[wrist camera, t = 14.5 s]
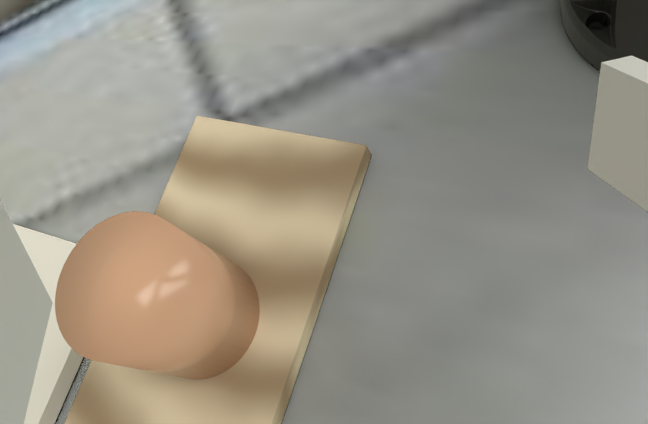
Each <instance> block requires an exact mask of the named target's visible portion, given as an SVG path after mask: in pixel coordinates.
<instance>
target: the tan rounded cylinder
mask: <svg viewBox="0 0 648 424" xmlns="http://www.w3.org/2000/svg"><path fill="white" fill-rule="evenodd" d="M55 313H56V319H57V323H58V326H59V329H60V332H61V334H62V336H63V338H64V339H65V341H66V342H67V344H68V345H69V346H70V347H71V348H72V349H73V350H74V351H76V352H77V353H78V354H79V355H81V356H83V357H85V358H87V359H90V360H94V361H98V362H103V363H108V364H114V365H119V366H124V367H129V368H134V369H140V370H145V371H150V372H155V373H161V374H166V375H171V376H176V377H182V378H187V379H194V380H197V379H207V378H211V377H214V376H217V375H219V374H221V373H223V372H225V371H227V370H228V369H230V368H231V367H232V366H233V365H235V364H236V363H237V362H238V361H239V360H240V359H241V358H242V357H243V355H244V354H245V353H246V351H247V350H248V348H249V347H250V345H251V343H252V341H253V339H254V336H255V334H256V331H257V327H258V323H259V315H260V305H259V298H258V293H257V290H256V287H255V285H254V283H253V281H252V280H251V278H250V277H249V275H248V274H247V273H246V272H245V271H244V270H243V269H242V268H241V267H239V266H238V265H237V264H235V263H233V262H232V261H230V260H229V259H227V258H225V257H224V256H222V255H220V254H219V253H217V252H216V251H214V250H212V249H211V248H209V247H208V246H206V245H204V244H203V243H201V242H200V241H198V240H196V239H195V238H193V237H192V236H190V235H188V234H187V233H185V232H184V231H182V230H180V229H179V228H177V227H176V226H174V225H172V224H171V223H169V222H167V221H166V220H164V219H162V218H161V217H159V216H157V215H154V214H151V213H147V212H138V211H133V212H125V213H121V214H117V215H115V216H112V217H110V218H108V219H106V220H104V221H102V222H100V223H99V224H97V225H96V226H95V227H93V228H92V229H91V230H90V231H88V232H87V233H86V234H85V235H84V236H83V237H82V238H81V239H80V240H79V242H78V243H77V244H76V246H75V247H74V248H73V250H72V251H71V253H70V254H69V256H68V258H67V260H66V261H65V263H64V266H63V268H62V270H61V273H60V276H59V279H58V283H57V288H56V294H55Z"/></svg>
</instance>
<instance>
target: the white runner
mask: <svg viewBox="0 0 648 424" xmlns="http://www.w3.org/2000/svg"><path fill="white" fill-rule="evenodd" d="M13 226H14V228H15V230H16V232H17V233H18V235H19V237H20V239H21V241H22V243H23V245H24V247H25V249H26V251H27V253H28V255H29V257H30V259H31V261H32V263H33V265H34V267H35V269H36V271H37V273H38V275H39V277H40V279H41V281H42V283H43V285H44V287H45V289H46V291H47V293H48V294H49V296H50V298H51V300H52V302H53V304H52V308H51V312H50V316H49V320H48V324H47V329H46V333H45V337H44V341H43V345H42V349H41V353H40V358H39V362H38V366H37V370H36V374H35V378H34V383H33V387H32V391H31V395H30V399H29V403H28V407H27V412H26V416H25V420H24V424H55V421H56V419H57V417H58V414H59V412H60V410H61V408H62V405H63V403H64V401H65V398H66V396H67V394H68V391H69V389H70V387H71V385H72V382H73V380H74V378H75V375H76V373H77V371H78V368H79V366H80V364H81V362H82V359H83V356H81V355H79V354H78V353H77V352H76V351H74V350H73V349H72V348H71V347H70V346H69V345H68V344H67V342H66V341H65V339H64V338H63V336H62V334H61V332H60V329H59V326H58V323H57V319H56V313H55V294H56V288H57V283H58V279H59V276H60V273H61V270H62V268H63V266H64V263H65V261H66V260H67V258H68V256H69V254H70V253H71V251H72V250H73V248H74V247H75V246H76V243H73V242H70V241H66V240H63V239H60V238H57V237H54V236H50V235H47V234H44V233H41V232H38V231H34V230H31V229H28V228H25V227H21V226H18V225H15V224H13Z"/></svg>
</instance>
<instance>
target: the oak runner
mask: <svg viewBox="0 0 648 424" xmlns="http://www.w3.org/2000/svg"><path fill="white" fill-rule="evenodd" d="M371 156H372V155H371V153H370V151H369V149H368V147H367V145H361V144H355V143H350V142H344V141H338V140H333V139H327V138H321V137H315V136H310V135H304V134H298V133H293V132H287V131H281V130H275V129H270V128H264V127H258V126H253V125H247V124H241V123H236V122H230V121H224V120H218V119H213V118H207V117H201V116H197V117H196V119H195V121H194V124H193V126H192V128H191V131H190V133H189V135H188V138H187V140H186V142H185V145H184V147H183V149H182V151H181V154H180V156H179V158H178V161H177V163H176V165H175V168H174V170H173V172H172V175H171V177H170V179H169V182H168V184H167V186H166V189H165V191H164V193H163V196H162V198H161V200H160V203H159V205H158V207H157V210H156V212H155V214H154V215H157V216H159V217H161V218H162V219H164V220H166V221H167V222H169V223H171V224H172V225H174V226H176V227H177V228H179V229H180V230H182V231H184V232H185V233H187V234H188V235H190V236H192V237H193V238H195V239H196V240H198V241H200V242H201V243H203V244H204V245H206V246H208V247H209V248H211V249H212V250H214V251H216V252H217V253H219V254H220V255H222V256H224V257H225V258H227V259H229V260H230V261H232V262H233V263H235V264H237V265H238V266H239V267H241V268H242V269H243V270H244V271H245V272H246V273H247V274H248V275H249V277H250V278H251V280H252V281H253V283H254V285H255V287H256V290H257V293H258V298H259V305H260V315H259V323H258V327H257V331H256V334H255V336H254V339H253V341H252V343H251V345H250V347H249V348H248V350H247V351H246V353H245V354H244V355H243V357H242V358H241V359H240V360H239V361H238V362H237V363H236V364H235V365H233V366H232V367H231V368H230V369H228V370H227V371H225V372H223V373H221V374H219V375H217V376H214V377H211V378H207V379H197V380H194V379H187V378H182V377H176V376H171V375H166V374H161V373H155V372H150V371H145V370H140V369H134V368H129V367H124V366H119V365H114V364H108V363H103V362H98V361H94V360H92V361H91V363H90V365H89V367H88V370H87V372H86V374H85V377H84V379H83V381H82V384H81V386H80V388H79V391H78V393H77V395H76V398H75V400H74V402H73V405H72V407H71V409H70V412H69V414H68V416H67V419H66V421H65V423H64V424H281V423H282V420H283V417H284V414H285V411H286V408H287V405H288V402H289V399H290V396H291V393H292V390H293V387H294V384H295V381H296V378H297V375H298V372H299V369H300V366H301V364H302V361H303V358H304V355H305V352H306V349H307V346H308V343H309V340H310V337H311V334H312V331H313V328H314V325H315V322H316V319H317V316H318V313H319V310H320V307H321V304H322V301H323V298H324V295H325V292H326V289H327V286H328V283H329V280H330V277H331V274H332V271H333V268H334V266H335V263H336V260H337V257H338V254H339V251H340V248H341V245H342V242H343V239H344V236H345V233H346V230H347V227H348V224H349V221H350V218H351V215H352V212H353V209H354V206H355V203H356V200H357V197H358V194H359V191H360V188H361V185H362V182H363V179H364V176H365V173H366V170H367V167H368V165H369V162H370V159H371Z"/></svg>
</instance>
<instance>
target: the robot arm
mask: <svg viewBox="0 0 648 424" xmlns="http://www.w3.org/2000/svg"><path fill="white" fill-rule="evenodd" d="M560 10H561V17H562V22H563V25H564V28H565V30H566V33H567V35H568V37H569V39H570V40H571V42H572V44H573V45H574V46H575V48H576V49H577V50H578V52H579V53H580V54H581V55H582V56H583V57H584V58H585V59H586V60H587V61H588V62H590V63H591V64H592V65H593V66H595V67H596V68H597V69H599V70H600V76H599V84H598V92H597V99H596V107H595V115H594V122H593V130H592V138H591V146H590V153H589V161H588V170H590V171H591V172H592V173H594V174H595V175H597V176H598V177H599V178H601V179H602V180H604V181H605V182H606V183H608V184H609V185H611V186H612V187H613V188H615V189H616V190H618V191H619V192H620V193H622V194H623V195H625V196H626V197H627V198H629V199H630V200H632V201H633V202H634V203H636V204H637V205H639V206H640V207H641V208H643V209H644V210H646V211H647V212H648V0H560ZM52 304H53V302H52V300H51V298H50V296H49V294H48V293H47V291H46V289H45V287H44V285H43V283H42V281H41V279H40V277H39V275H38V273H37V271H36V269H35V267H34V265H33V263H32V261H31V259H30V257H29V255H28V253H27V251H26V249H25V247H24V245H23V243H22V241H21V239H20V237H19V235H18V233H17V232H16V230H15V228H14V226H13V224H12V222H11V220H10V218H9V216H8V214H7V212H6V210H5V208H4V206H3V204H2V202H1V200H0V424H24V420H25V416H26V412H27V407H28V403H29V399H30V395H31V391H32V387H33V383H34V378H35V374H36V370H37V366H38V362H39V358H40V353H41V349H42V345H43V341H44V337H45V333H46V329H47V324H48V320H49V316H50V312H51V308H52Z"/></svg>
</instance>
